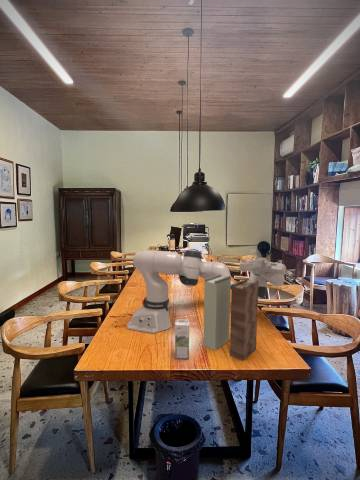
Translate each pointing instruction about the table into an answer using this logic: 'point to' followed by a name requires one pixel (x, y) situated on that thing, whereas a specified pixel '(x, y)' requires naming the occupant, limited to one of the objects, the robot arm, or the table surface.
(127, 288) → the table surface
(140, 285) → the table surface
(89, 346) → the table surface
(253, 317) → the walnut stand
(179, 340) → the syrup box
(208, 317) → the sage stand
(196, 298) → the table surface
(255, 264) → the steel bar
